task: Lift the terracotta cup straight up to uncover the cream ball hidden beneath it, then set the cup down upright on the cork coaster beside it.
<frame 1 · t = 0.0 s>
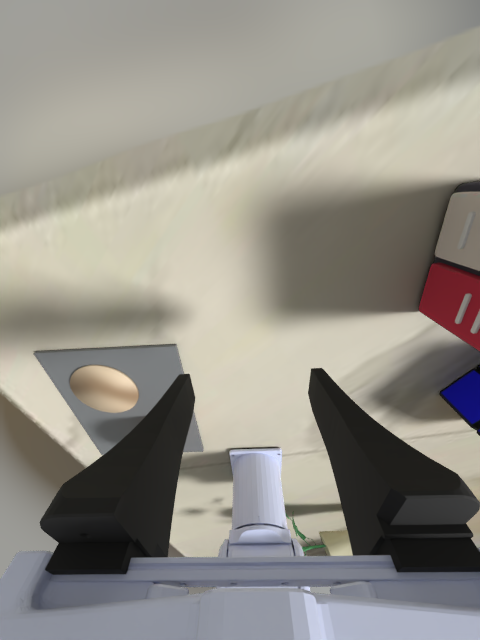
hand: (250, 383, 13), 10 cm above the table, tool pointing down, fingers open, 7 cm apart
coaster: (105, 389, 27), resting on placemat
flower vase: (324, 504, 44), on the table
grey and red box: (449, 254, 19), on the table
placemat: (133, 407, 30), on the table
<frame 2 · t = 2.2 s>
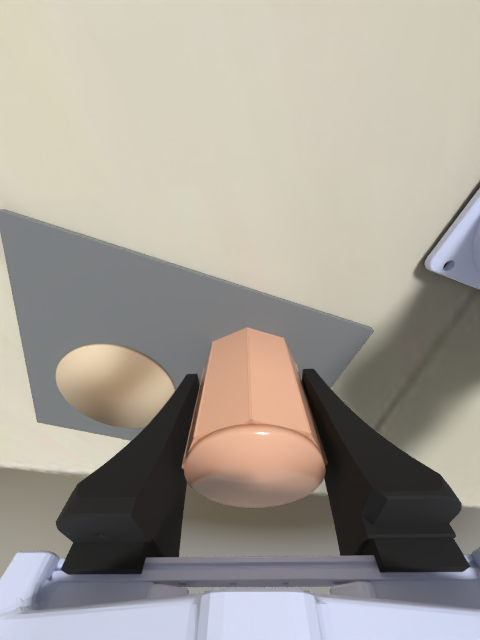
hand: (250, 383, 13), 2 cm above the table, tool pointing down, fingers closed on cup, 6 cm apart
coaster: (119, 389, 16), resting on placemat
cup: (249, 366, 15), resting on placemat, touching gripper
placemat: (181, 379, 16), on the table
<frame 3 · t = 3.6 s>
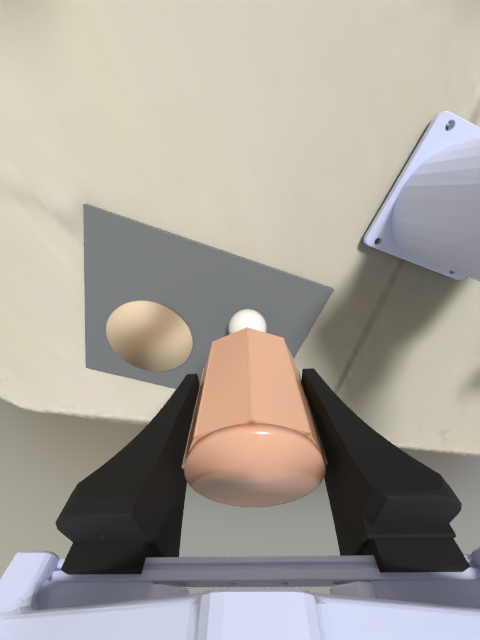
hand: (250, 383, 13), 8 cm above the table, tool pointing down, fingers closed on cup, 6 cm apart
coaster: (151, 338, 21), resting on placemat
ball: (247, 328, 19), point 2 cm above the table, touching placemat
cup: (249, 366, 15), point 7 cm above the table, touching gripper
placemat: (197, 330, 21), on the table
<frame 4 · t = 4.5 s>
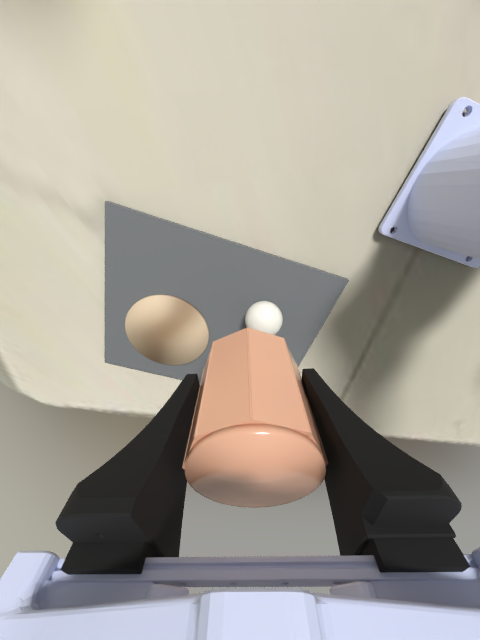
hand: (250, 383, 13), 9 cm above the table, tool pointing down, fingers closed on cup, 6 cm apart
coaster: (168, 332, 22), resting on placemat
ball: (263, 319, 19), point 2 cm above the table, touching placemat
cup: (249, 366, 15), point 7 cm above the table, touching gripper
placemat: (213, 323, 22), on the table
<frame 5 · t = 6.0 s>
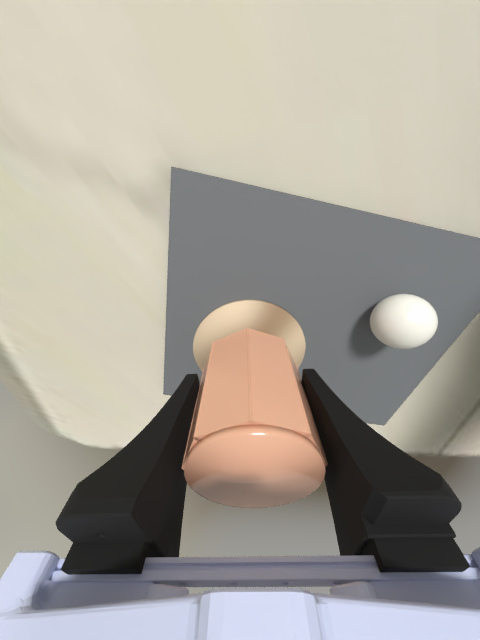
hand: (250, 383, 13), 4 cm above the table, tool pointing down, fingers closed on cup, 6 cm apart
coaster: (248, 349, 16), resting on placemat
ball: (401, 321, 13), point 2 cm above the table, touching placemat
cup: (249, 366, 15), point 2 cm above the table, touching gripper
placemat: (309, 333, 16), on the table
when the fingers open (4 cm above the table, at t = 7.0 s): cup drops 1 cm, resting on coaster.
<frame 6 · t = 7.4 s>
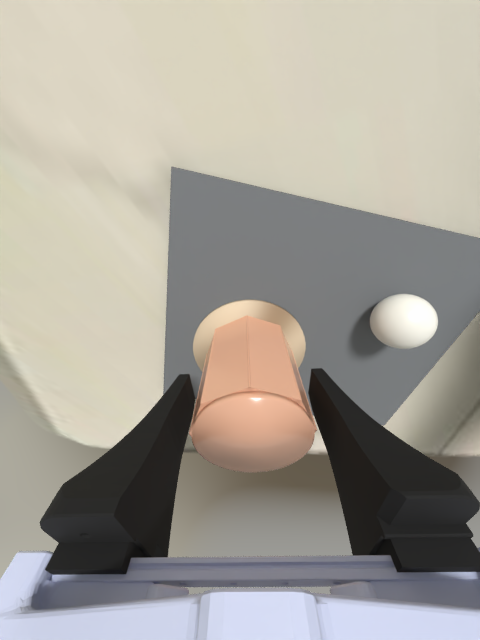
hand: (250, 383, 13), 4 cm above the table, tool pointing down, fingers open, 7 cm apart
coaster: (248, 349, 16), resting on placemat
ball: (401, 321, 13), point 2 cm above the table, touching placemat
cup: (248, 352, 16), point 1 cm above the table, touching coaster
placemat: (309, 333, 16), on the table
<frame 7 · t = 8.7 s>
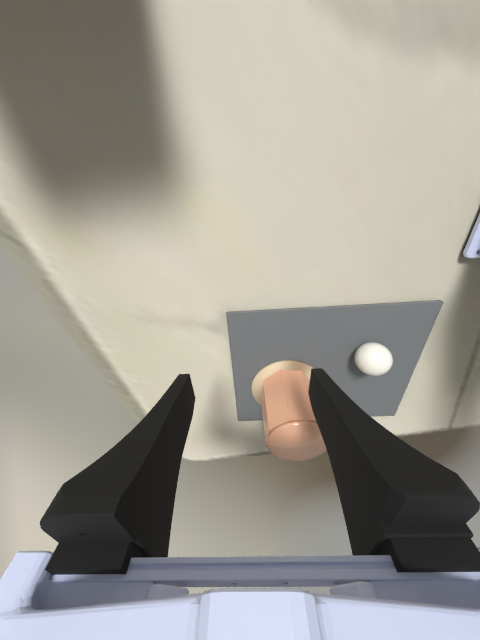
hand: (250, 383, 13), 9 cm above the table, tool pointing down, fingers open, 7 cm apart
coaster: (285, 386, 26), resting on placemat
ball: (372, 358, 22), point 2 cm above the table, touching placemat
cup: (286, 388, 26), point 1 cm above the table, touching coaster
placemat: (321, 369, 25), on the table
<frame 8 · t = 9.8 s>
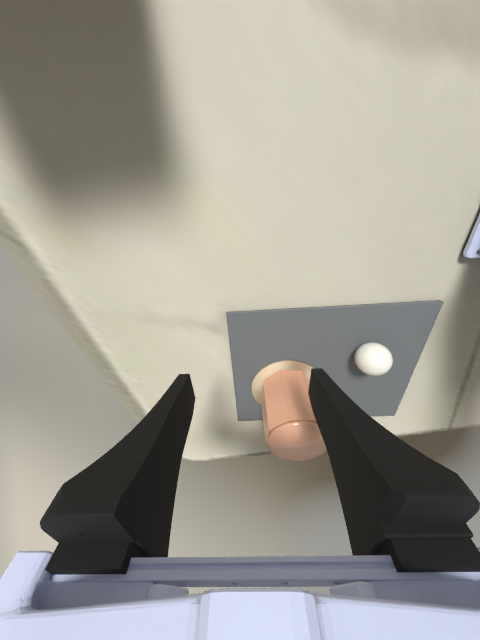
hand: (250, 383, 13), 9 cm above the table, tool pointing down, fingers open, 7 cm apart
coaster: (285, 386, 26), resting on placemat
ball: (372, 358, 22), point 2 cm above the table, touching placemat
cup: (286, 388, 26), point 1 cm above the table, touching coaster
placemat: (321, 369, 25), on the table
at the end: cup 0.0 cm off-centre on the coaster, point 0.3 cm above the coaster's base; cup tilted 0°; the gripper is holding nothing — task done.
